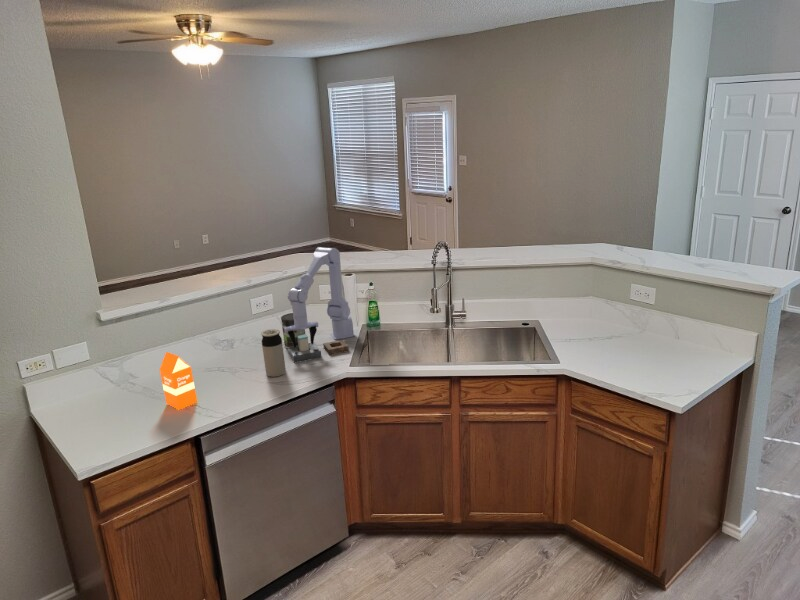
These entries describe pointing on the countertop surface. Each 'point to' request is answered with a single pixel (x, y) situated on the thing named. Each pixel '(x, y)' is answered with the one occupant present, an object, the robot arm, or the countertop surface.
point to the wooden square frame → (335, 347)
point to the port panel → (304, 353)
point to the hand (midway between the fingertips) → (303, 345)
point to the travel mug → (273, 353)
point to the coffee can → (289, 321)
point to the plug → (303, 342)
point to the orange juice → (177, 382)
